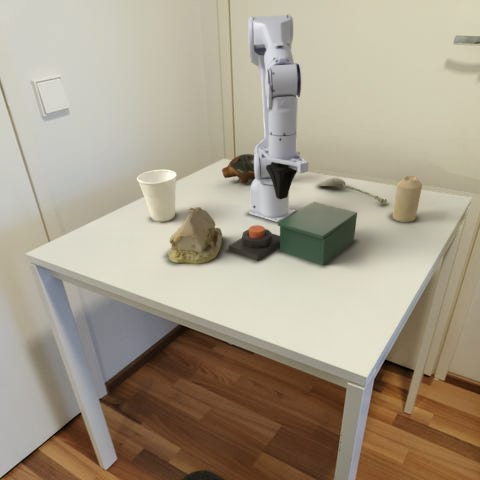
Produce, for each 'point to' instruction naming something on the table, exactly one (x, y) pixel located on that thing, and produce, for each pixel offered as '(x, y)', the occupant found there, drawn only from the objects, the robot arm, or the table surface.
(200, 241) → the ceramic model
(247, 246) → the switch block
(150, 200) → the cup
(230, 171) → the decorative turtle
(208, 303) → the table surface
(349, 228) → the box
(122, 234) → the table surface
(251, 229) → the button
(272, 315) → the table surface
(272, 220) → the robot arm
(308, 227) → the lid
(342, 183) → the soupspoon
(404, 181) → the candle
